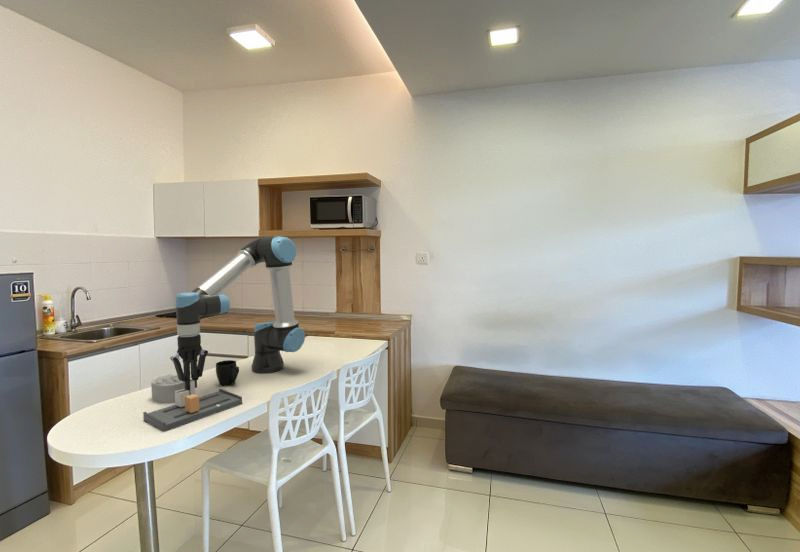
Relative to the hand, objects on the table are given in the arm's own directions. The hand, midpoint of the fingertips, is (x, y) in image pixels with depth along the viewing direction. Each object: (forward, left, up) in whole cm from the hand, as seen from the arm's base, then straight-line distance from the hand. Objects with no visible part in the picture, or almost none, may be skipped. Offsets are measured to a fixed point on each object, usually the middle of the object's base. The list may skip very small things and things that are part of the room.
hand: (191, 397), depth 146 cm
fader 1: (+3, 0, -2) cm, 4 cm away
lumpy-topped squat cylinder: (0, -17, -4) cm, 18 cm away
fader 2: (+4, +8, -2) cm, 9 cm away
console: (+1, +4, -4) cm, 6 cm away
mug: (-22, -12, -4) cm, 26 cm away
